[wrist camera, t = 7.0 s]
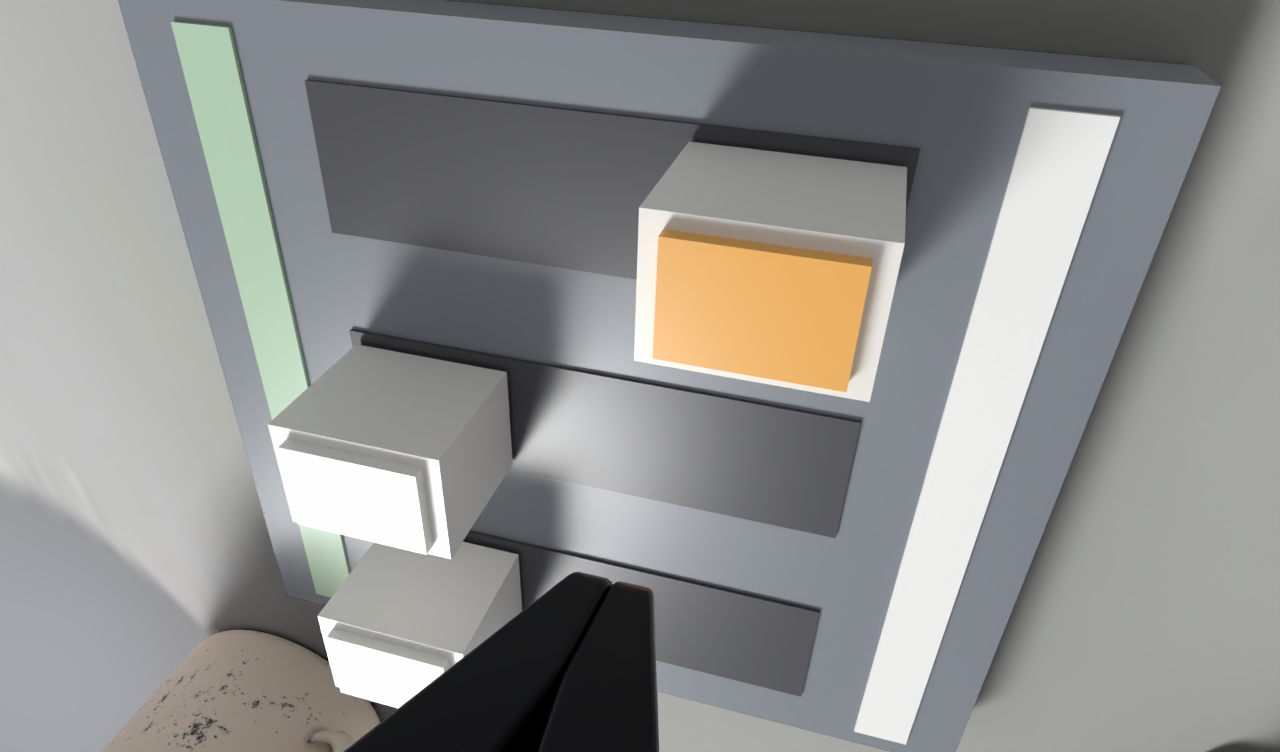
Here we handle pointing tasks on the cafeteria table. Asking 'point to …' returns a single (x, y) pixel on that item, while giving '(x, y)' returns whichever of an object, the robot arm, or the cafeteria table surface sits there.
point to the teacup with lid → (248, 702)
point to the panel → (606, 304)
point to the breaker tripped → (770, 267)
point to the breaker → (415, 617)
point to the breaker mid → (395, 449)
